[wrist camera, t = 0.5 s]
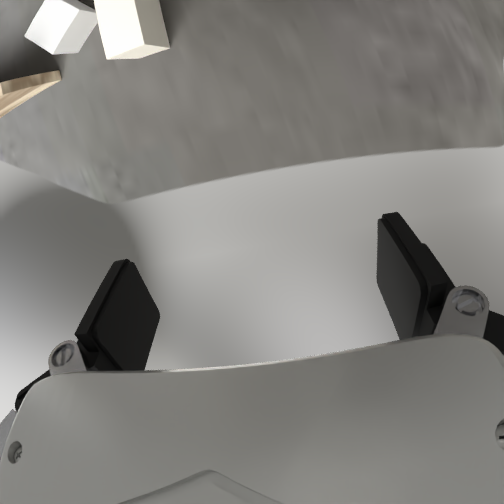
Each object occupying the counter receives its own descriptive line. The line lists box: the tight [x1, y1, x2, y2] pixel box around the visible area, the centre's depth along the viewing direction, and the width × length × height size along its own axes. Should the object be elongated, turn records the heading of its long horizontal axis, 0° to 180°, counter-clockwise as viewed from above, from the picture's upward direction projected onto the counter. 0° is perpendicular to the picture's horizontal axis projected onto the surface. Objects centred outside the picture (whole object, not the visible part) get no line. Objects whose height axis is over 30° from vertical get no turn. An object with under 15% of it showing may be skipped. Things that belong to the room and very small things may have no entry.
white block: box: [94, 0, 170, 59], centre depth 23 cm, size 9×4×9 cm, turn 11°
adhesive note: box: [24, 0, 98, 54], centre depth 24 cm, size 6×6×6 cm
